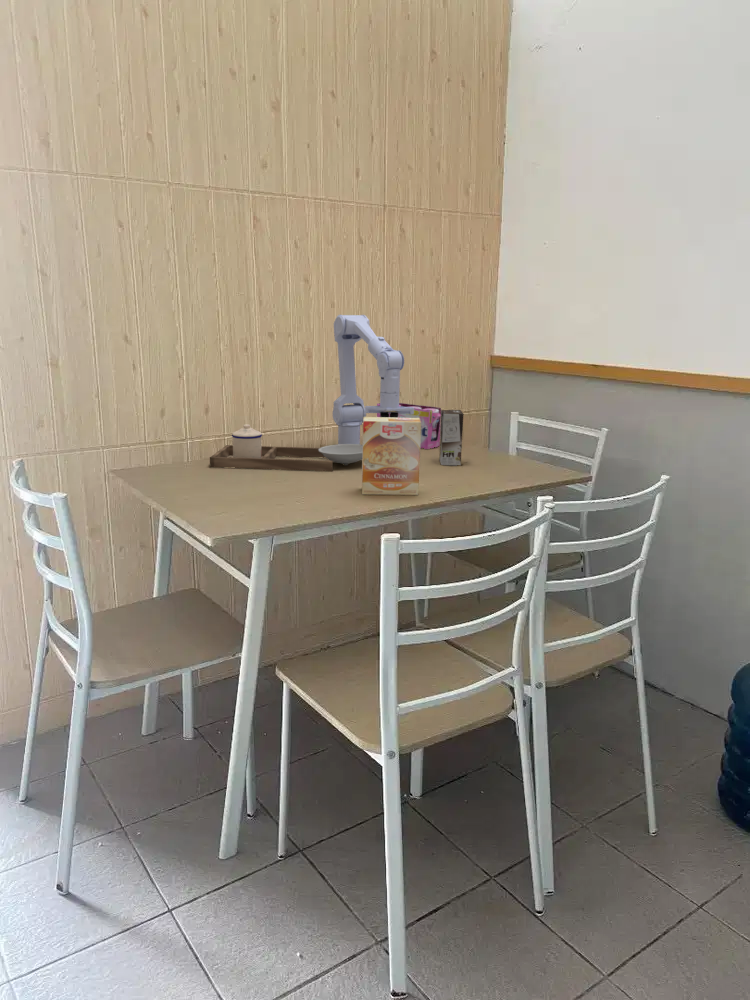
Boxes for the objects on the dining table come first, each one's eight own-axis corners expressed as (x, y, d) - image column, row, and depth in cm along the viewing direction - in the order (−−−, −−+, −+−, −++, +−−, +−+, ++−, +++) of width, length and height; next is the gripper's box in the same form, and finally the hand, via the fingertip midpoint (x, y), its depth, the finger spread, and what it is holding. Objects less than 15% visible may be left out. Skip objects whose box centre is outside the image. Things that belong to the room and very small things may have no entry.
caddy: (226, 454, 241) (226, 445, 240) (339, 457, 239) (339, 448, 238) (210, 467, 222) (209, 457, 222) (332, 471, 220) (332, 461, 220)
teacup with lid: (268, 462, 230) (267, 425, 227) (243, 466, 224) (242, 428, 221) (246, 456, 239) (245, 420, 236) (221, 460, 232) (220, 423, 229)
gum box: (443, 447, 260) (445, 408, 256) (430, 450, 254) (432, 410, 250) (388, 438, 274) (389, 401, 270) (375, 441, 268) (376, 403, 264)
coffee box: (461, 465, 231) (464, 413, 227) (440, 465, 231) (442, 413, 227) (458, 459, 240) (461, 409, 235) (438, 459, 240) (440, 408, 236)
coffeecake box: (361, 494, 195) (362, 420, 190) (361, 488, 202) (362, 416, 197) (419, 495, 196) (421, 421, 190) (417, 488, 202) (419, 416, 197)
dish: (335, 472, 219) (335, 456, 217) (308, 464, 230) (308, 447, 228) (382, 465, 229) (383, 449, 228) (354, 457, 240) (354, 442, 239)
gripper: (364, 393, 219) (363, 439, 223) (414, 394, 219) (412, 440, 222) (366, 390, 226) (365, 434, 230) (414, 391, 225) (413, 436, 229)
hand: (388, 437), depth 226 cm, fingers closed
